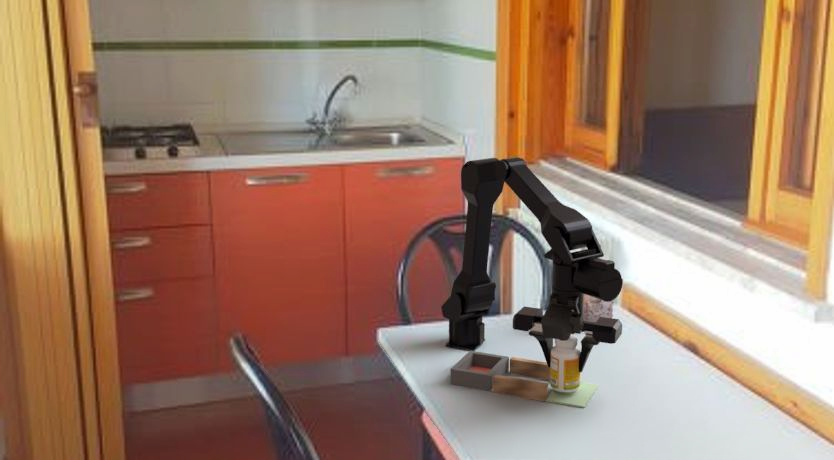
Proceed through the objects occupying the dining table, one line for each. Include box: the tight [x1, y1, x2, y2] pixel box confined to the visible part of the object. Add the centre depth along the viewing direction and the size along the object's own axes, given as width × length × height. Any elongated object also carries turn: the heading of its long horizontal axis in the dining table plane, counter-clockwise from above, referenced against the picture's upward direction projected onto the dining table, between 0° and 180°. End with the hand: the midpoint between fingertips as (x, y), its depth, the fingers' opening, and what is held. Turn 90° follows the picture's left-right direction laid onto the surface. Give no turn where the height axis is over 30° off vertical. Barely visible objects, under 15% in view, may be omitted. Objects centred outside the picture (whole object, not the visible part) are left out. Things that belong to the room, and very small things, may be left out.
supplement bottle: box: [549, 334, 581, 392], centre depth 168 cm, size 5×5×10 cm
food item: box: [548, 292, 615, 322], centre depth 202 cm, size 14×8×10 cm, turn 121°
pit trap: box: [449, 350, 510, 392], centre depth 176 cm, size 8×10×3 cm
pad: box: [545, 381, 599, 409], centre depth 169 cm, size 7×10×1 cm
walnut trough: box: [492, 356, 550, 402], centre depth 172 cm, size 10×10×3 cm
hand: (565, 369), depth 168 cm, fingers closed on supplement bottle, 5 cm apart
